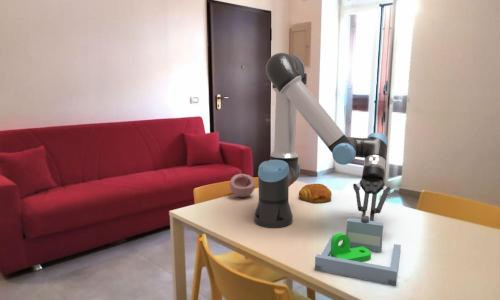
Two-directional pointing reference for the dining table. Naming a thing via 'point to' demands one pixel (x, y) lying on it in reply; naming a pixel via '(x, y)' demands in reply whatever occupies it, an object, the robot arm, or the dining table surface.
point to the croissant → (315, 193)
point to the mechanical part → (348, 249)
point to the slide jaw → (365, 233)
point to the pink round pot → (242, 185)
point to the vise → (359, 266)
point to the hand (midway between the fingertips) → (366, 230)
